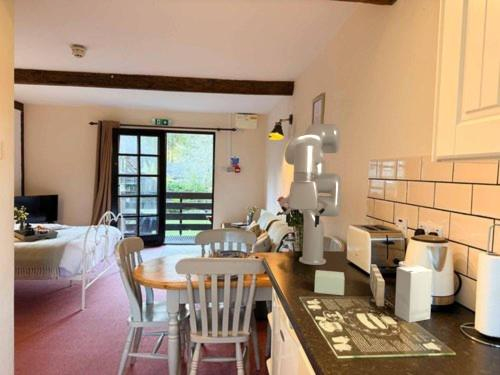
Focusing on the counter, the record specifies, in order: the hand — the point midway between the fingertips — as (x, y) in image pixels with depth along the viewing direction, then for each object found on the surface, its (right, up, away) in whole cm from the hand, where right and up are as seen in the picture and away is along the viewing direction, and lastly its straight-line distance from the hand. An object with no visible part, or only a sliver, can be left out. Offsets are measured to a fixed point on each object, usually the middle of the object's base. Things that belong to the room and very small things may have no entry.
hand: (302, 225), depth 126 cm
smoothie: (+39, -24, +4) cm, 46 cm away
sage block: (+10, -23, 0) cm, 25 cm away
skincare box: (+29, -25, -23) cm, 44 cm away
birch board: (+25, -24, -3) cm, 35 cm away
